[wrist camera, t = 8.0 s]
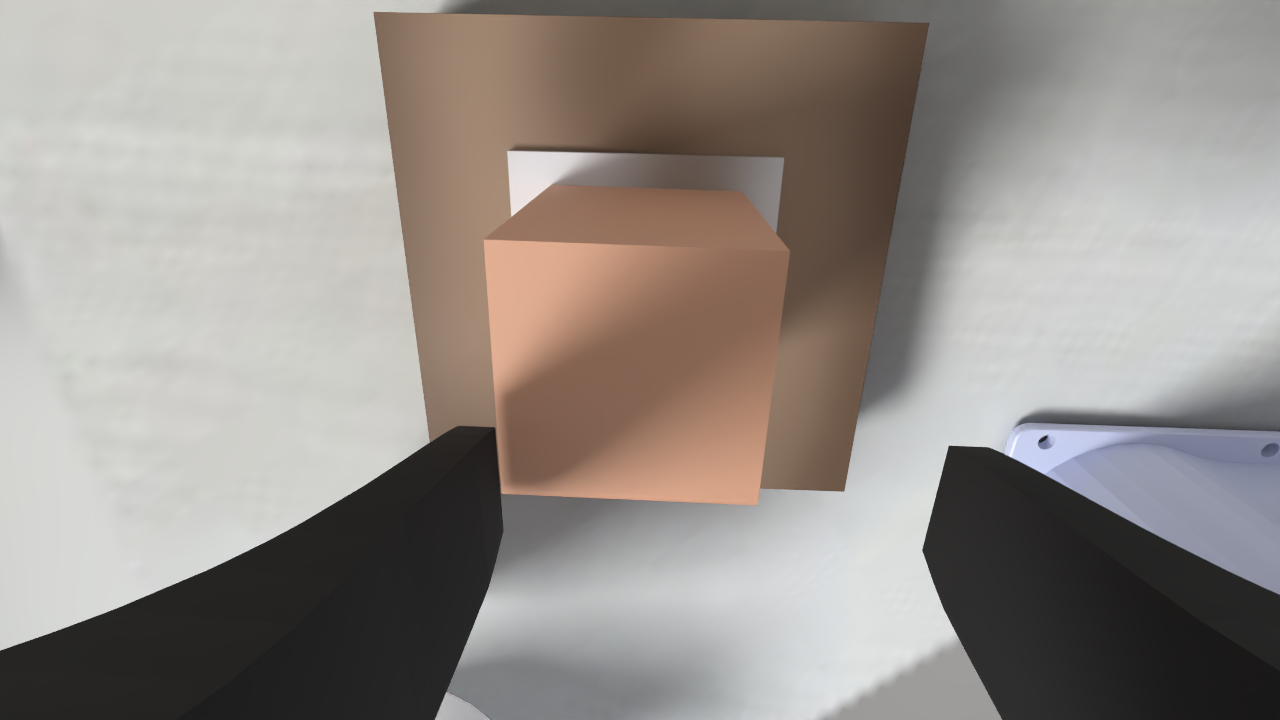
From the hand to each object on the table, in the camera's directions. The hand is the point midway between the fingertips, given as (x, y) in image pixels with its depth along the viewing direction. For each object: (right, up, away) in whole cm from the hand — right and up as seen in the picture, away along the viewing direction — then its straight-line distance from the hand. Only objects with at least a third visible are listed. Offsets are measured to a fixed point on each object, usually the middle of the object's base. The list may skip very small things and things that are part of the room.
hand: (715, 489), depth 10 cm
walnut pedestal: (-1, +5, +9) cm, 10 cm away
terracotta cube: (-1, +4, +6) cm, 7 cm away
